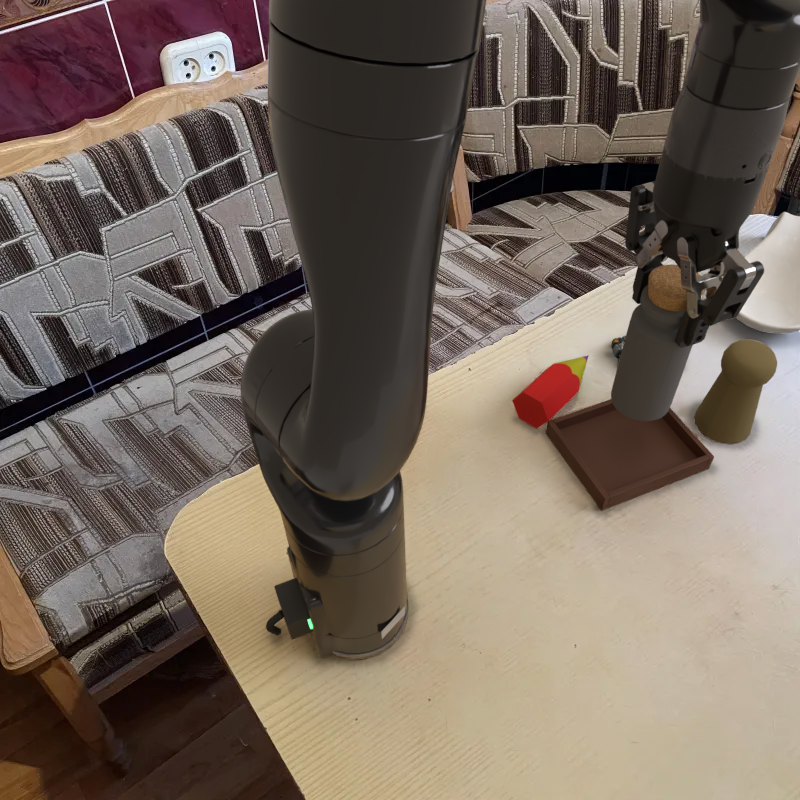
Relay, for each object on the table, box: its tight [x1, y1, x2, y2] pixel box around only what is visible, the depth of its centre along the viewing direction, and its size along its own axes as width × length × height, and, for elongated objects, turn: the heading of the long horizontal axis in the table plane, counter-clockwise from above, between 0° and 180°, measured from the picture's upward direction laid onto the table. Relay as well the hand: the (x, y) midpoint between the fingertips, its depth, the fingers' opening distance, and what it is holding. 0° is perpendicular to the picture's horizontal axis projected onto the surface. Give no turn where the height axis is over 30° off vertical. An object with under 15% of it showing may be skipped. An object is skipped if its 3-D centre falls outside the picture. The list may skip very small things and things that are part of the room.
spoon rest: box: [735, 211, 800, 334], centre depth 96 cm, size 24×12×7 cm, turn 155°
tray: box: [544, 398, 715, 512], centre depth 80 cm, size 13×11×2 cm
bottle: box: [610, 264, 706, 421], centre depth 70 cm, size 6×6×15 cm
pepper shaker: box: [693, 339, 778, 445], centre depth 80 cm, size 6×6×11 cm
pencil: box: [511, 355, 589, 430], centre depth 85 cm, size 5×12×4 cm, turn 138°
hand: (664, 320), depth 68 cm, fingers closed on bottle, 5 cm apart
